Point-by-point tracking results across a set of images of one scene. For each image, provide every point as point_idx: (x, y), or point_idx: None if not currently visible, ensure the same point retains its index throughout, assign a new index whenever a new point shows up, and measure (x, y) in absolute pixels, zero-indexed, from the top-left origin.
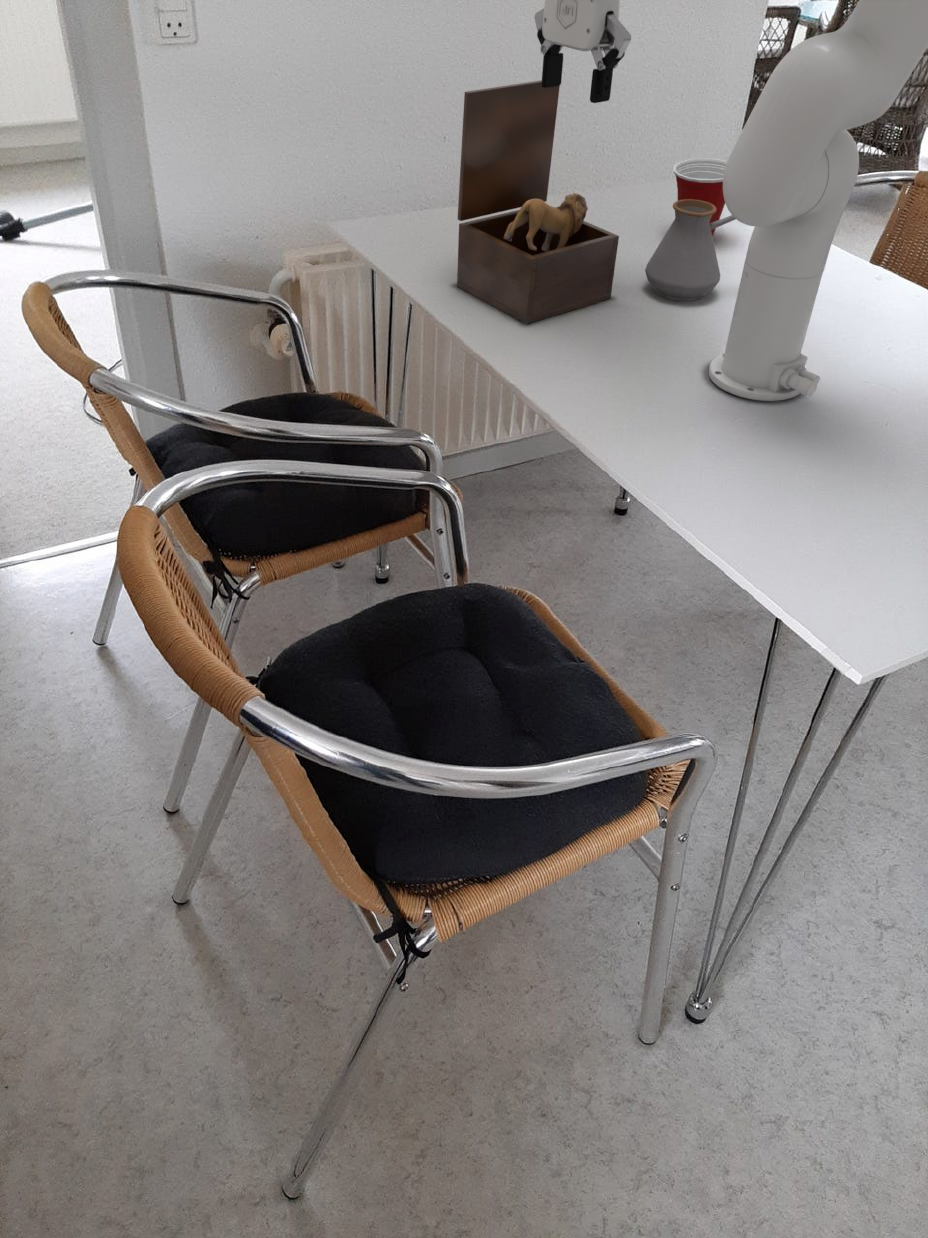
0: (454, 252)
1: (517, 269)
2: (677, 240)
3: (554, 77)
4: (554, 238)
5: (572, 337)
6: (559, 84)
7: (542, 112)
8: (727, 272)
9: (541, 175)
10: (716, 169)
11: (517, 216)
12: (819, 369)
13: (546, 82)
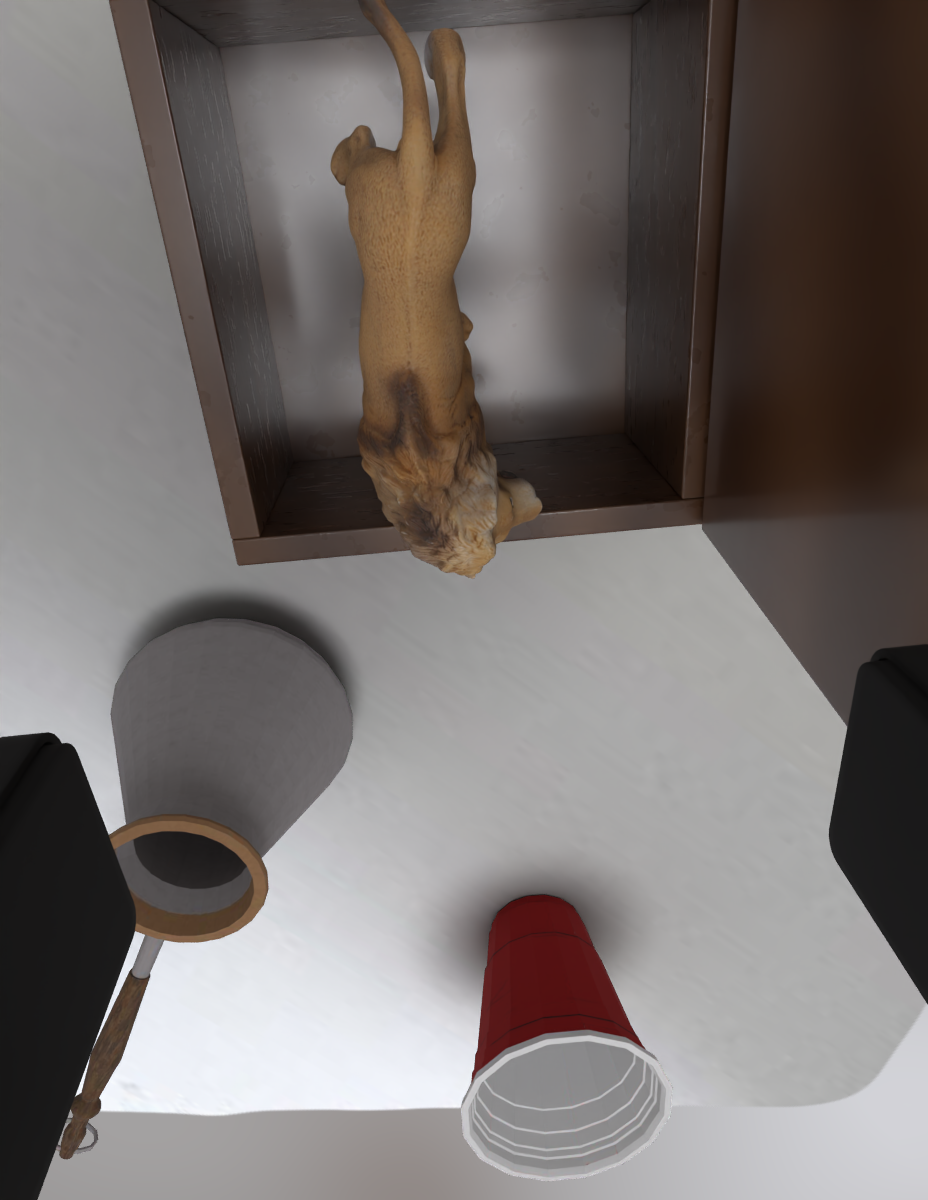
0: None
1: None
2: (172, 745)
3: (883, 821)
4: (574, 470)
5: (22, 125)
6: (830, 831)
7: None
8: (304, 866)
9: (745, 530)
10: (588, 1136)
11: (406, 71)
12: None
13: (882, 688)
